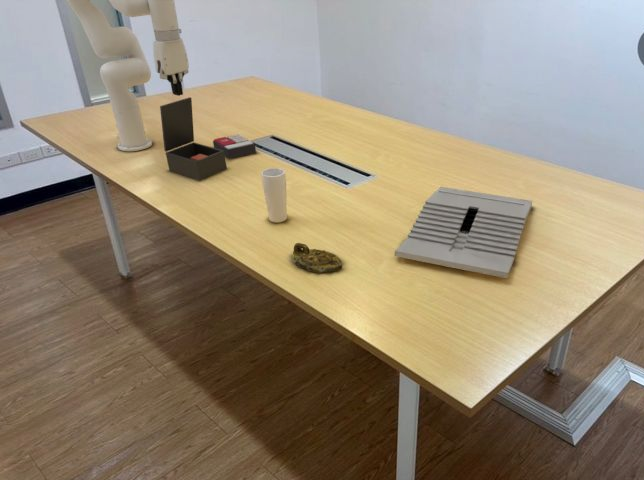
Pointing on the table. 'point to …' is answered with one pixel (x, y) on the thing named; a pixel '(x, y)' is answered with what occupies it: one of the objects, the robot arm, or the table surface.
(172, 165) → the case
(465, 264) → the grey grooved board
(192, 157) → the block
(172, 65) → the robot arm
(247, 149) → the calculator
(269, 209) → the drinking glass
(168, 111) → the case lid
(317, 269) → the seal
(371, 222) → the table surface
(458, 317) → the table surface
